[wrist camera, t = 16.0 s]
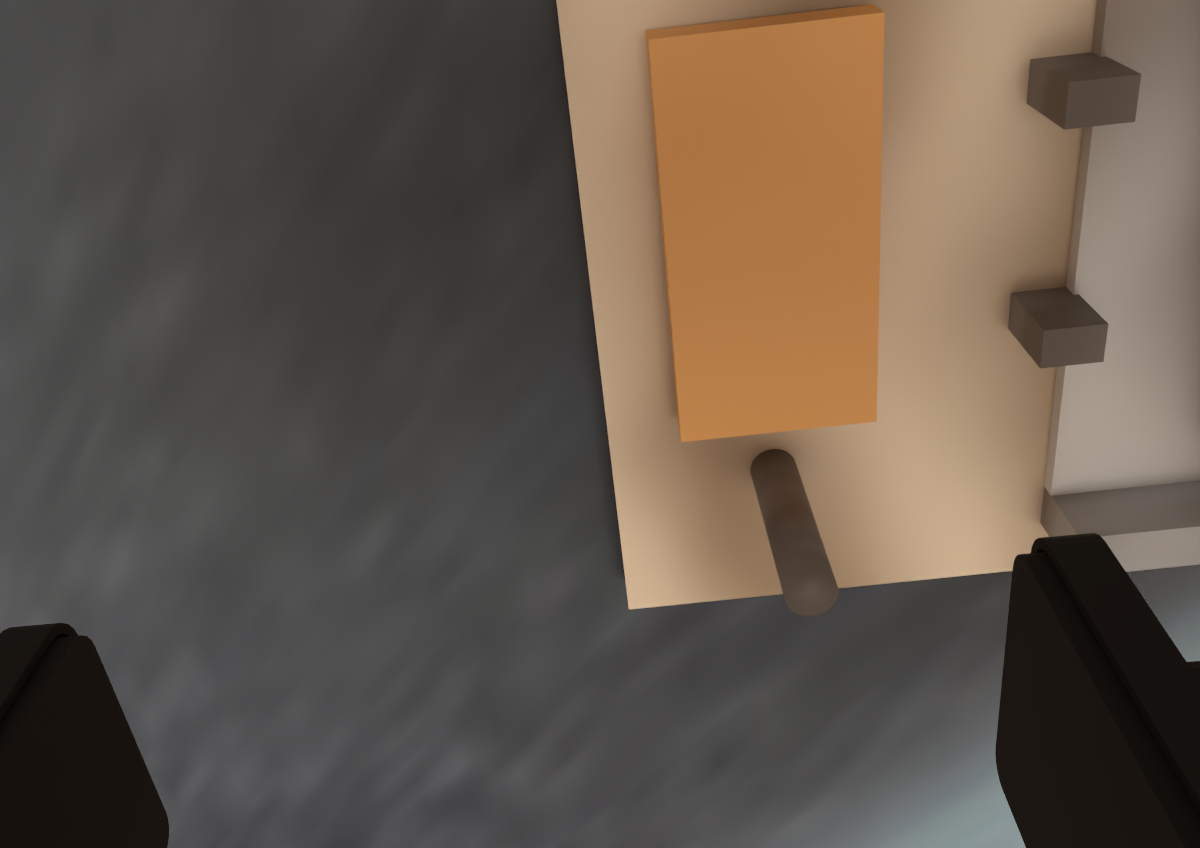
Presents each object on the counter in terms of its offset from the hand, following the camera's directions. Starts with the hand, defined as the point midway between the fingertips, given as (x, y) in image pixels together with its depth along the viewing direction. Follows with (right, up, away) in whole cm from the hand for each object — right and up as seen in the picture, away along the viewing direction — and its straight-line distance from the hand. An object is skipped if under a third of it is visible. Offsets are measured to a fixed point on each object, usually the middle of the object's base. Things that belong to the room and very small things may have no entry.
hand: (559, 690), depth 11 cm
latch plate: (+4, +6, +10) cm, 13 cm away
